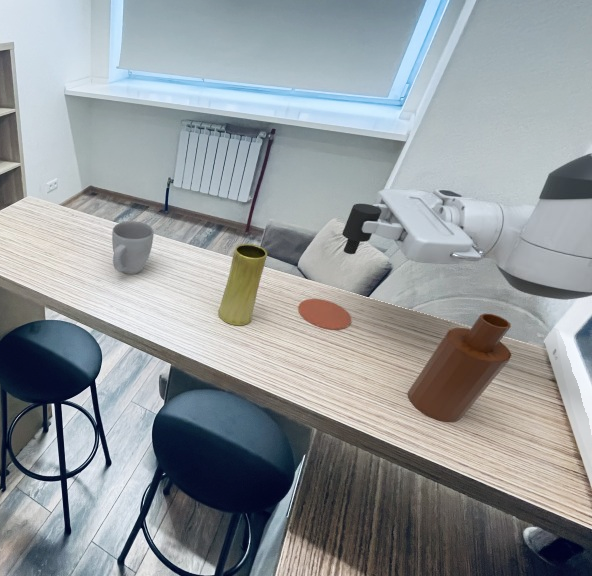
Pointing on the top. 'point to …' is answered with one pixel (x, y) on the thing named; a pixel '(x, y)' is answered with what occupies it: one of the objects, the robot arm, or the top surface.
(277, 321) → the top surface
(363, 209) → the stopper
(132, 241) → the mug
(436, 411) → the bottle
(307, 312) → the coaster
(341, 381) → the top surface
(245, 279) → the vase
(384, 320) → the top surface
